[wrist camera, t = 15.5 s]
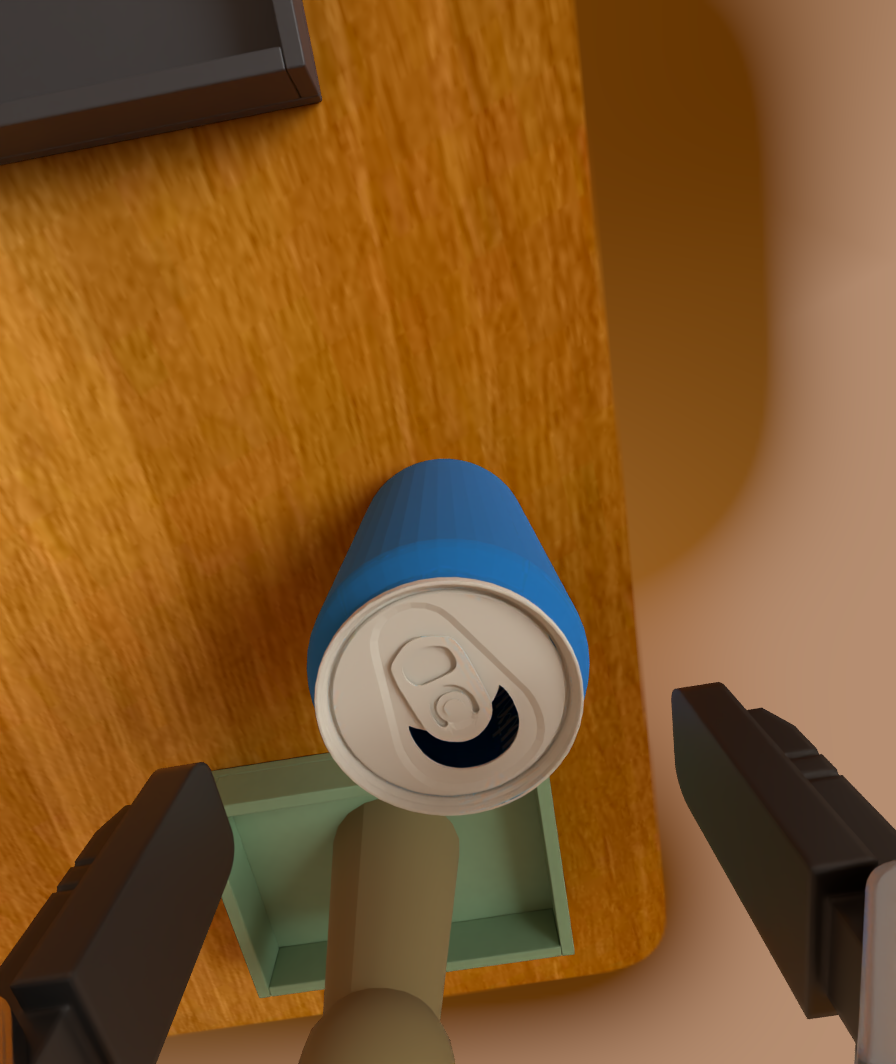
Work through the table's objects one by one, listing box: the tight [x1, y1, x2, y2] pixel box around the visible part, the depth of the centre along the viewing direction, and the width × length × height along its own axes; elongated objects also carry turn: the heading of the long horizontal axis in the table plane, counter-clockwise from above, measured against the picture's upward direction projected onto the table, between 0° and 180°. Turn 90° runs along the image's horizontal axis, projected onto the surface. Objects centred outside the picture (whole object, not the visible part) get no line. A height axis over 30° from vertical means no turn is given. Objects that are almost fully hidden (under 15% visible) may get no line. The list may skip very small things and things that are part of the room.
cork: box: [298, 799, 459, 1064], centre depth 22 cm, size 6×6×11 cm
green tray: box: [211, 753, 575, 998], centre depth 27 cm, size 15×11×2 cm
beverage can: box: [307, 459, 589, 816], centre depth 18 cm, size 6×6×12 cm
